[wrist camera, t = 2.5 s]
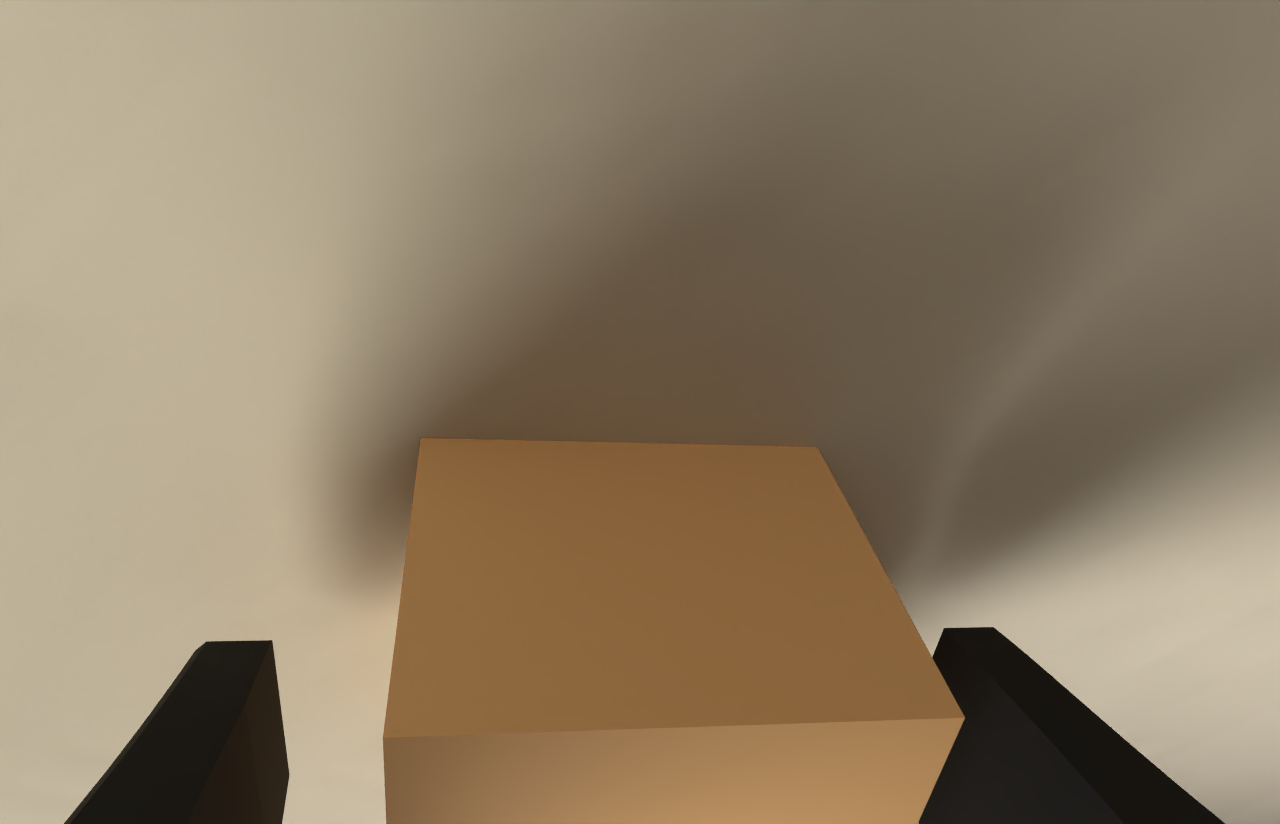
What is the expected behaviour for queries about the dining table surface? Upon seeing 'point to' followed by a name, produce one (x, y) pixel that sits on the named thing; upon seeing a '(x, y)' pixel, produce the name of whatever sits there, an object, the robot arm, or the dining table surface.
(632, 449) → the block
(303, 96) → the dining table surface
